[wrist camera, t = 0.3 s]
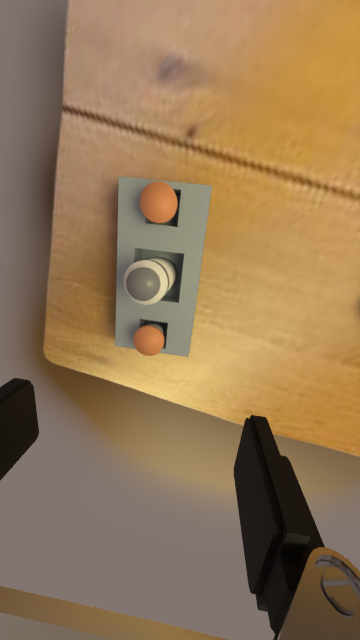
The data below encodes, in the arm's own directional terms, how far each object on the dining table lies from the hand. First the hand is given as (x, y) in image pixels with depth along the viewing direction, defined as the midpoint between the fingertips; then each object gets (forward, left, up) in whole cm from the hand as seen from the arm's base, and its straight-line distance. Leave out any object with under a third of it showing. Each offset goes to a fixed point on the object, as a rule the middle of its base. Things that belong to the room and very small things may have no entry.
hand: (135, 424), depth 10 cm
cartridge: (-3, -4, -28) cm, 29 cm away
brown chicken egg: (-12, -4, -26) cm, 29 cm away
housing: (-3, -4, -29) cm, 30 cm away
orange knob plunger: (+6, -4, -26) cm, 27 cm away
